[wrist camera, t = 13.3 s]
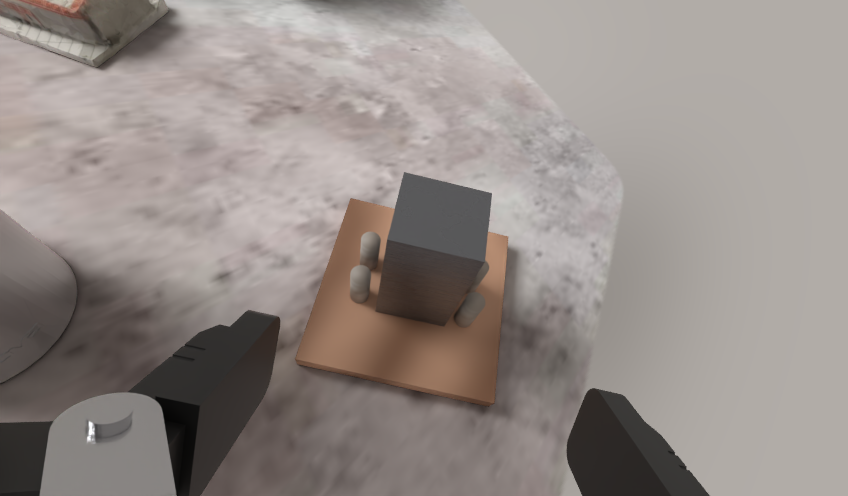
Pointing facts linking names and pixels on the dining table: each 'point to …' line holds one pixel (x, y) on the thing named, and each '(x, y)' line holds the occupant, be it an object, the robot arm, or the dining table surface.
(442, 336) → the wooden peg holder
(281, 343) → the dining table surface
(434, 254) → the block
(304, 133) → the dining table surface
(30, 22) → the packaged product
